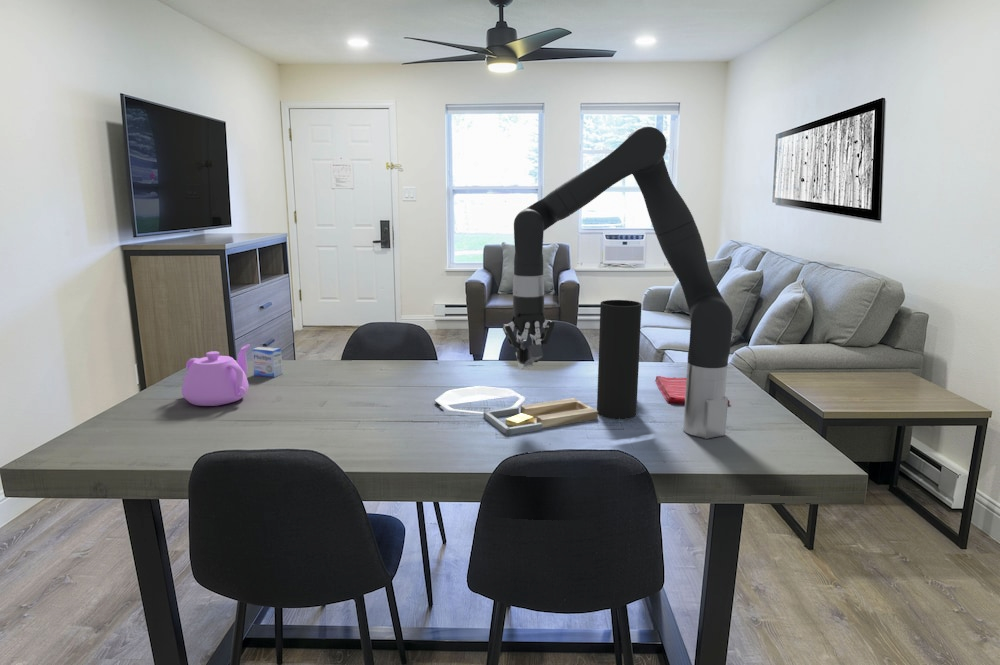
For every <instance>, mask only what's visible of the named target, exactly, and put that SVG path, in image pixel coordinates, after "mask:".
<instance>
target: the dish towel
mask: <svg viewBox="0 0 1000 665" xmlns="http://www.w3.org/2000/svg"><path fill="white" fill-rule="evenodd" d="M686 378H687V377H664V376H661V375H656V377H655V379H654V380H655V381H654V382H655V383H656V386H657V388H658V390H659V391H660V392H661V394H662V396H663V398H664V400H665V401H666V402H667V403H668V404H669V405H670V404H671V405H673V404H674V405H675V404H676V405H685V393H686ZM729 405H730V400H729V399H728V406H729Z"/></svg>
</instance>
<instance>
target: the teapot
mask: <svg viewBox="0 0 1000 665" xmlns="http://www.w3.org/2000/svg"><path fill="white" fill-rule="evenodd" d="M250 346H251V344H250V343H248V344H245V345H243V346H242V347H240V349H239V352H238V355H237V361H236V360H235V359H234V358H233V357H232V356H229V355H220V351H215V350H214V351H213V350H212V351H208V352H205V355H206V356H204V357H199V358H197V357H191V358H189V359H188V360H187V361H186V364H185V366H186V373H185V375H184V378H183V382H182V386H181V395H182V397H183V398H184V399H185V400H186V401H187V402H189V403H190V404H192V405H194V406H201V407H208V406H209V407H218V406H222V405H227V404H231V403H235V402H237V401H239V400H241V399H242V398H244V397H245V395H246V394H247V392H248V391H249V388H250V386H249V381H248V378H247V374H248V361H247V351H248V348H249V347H250Z"/></svg>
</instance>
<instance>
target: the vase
mask: <svg viewBox="0 0 1000 665" xmlns="http://www.w3.org/2000/svg"><path fill="white" fill-rule="evenodd" d="M642 305H643V304H642V302H639V301H635V300H627V299H611V300H610V299H607V300H602V301H601V302H600V309H599V310H600V311H599V336H598V337H599V340H598V363H597V364H598V371H597V372H598V374H597V393H596V395H597V396H596V410H597V411H598V416H600V417H602V418H606V419H610V420H628V419H633V418H635V417H636V416H637V407H638V405H637V404H638V391H639V390H638V387H639V364H640V363H639V362H640V347H641V346H640V343H641V326H642V325H641V323H642V322H641V321H642Z"/></svg>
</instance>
